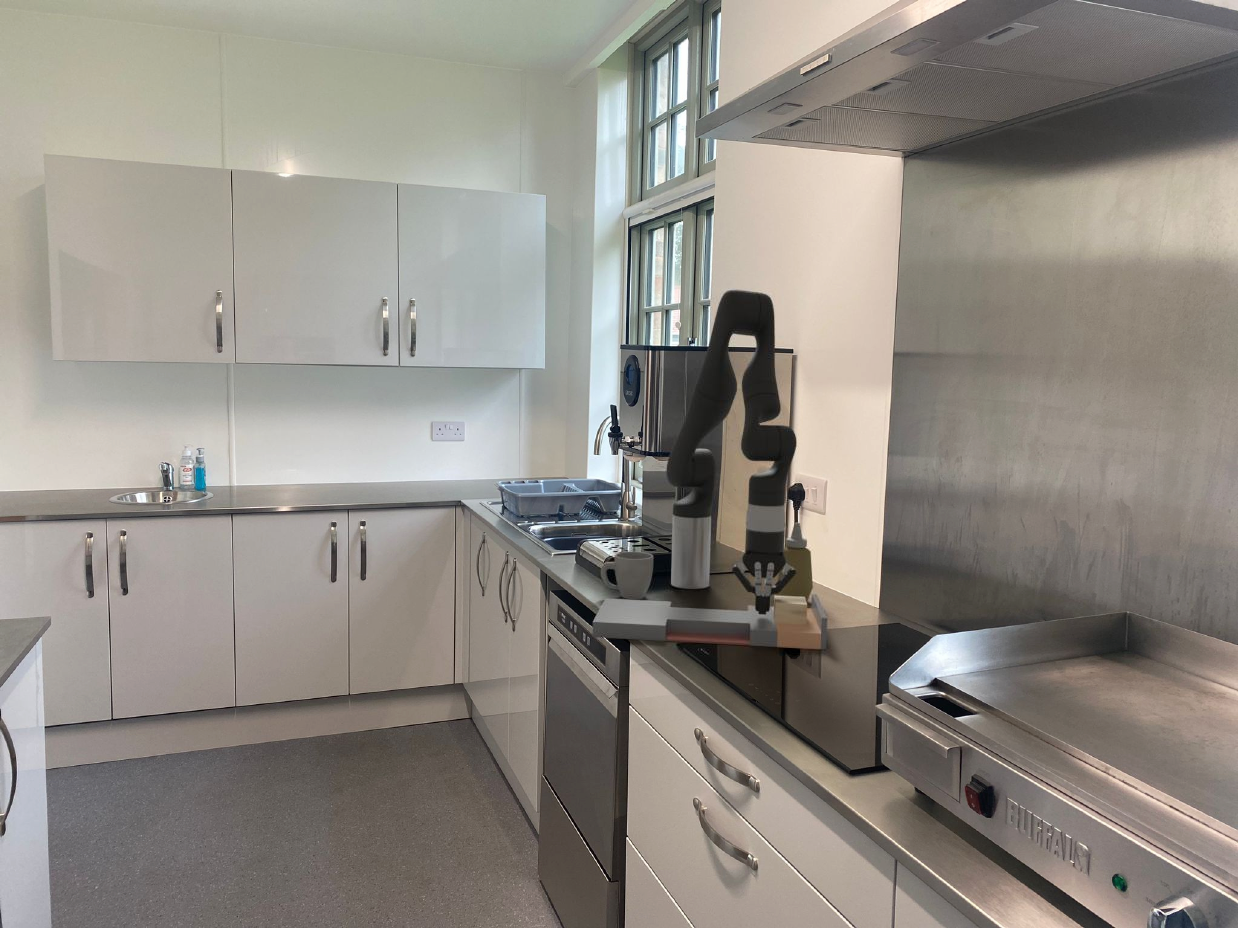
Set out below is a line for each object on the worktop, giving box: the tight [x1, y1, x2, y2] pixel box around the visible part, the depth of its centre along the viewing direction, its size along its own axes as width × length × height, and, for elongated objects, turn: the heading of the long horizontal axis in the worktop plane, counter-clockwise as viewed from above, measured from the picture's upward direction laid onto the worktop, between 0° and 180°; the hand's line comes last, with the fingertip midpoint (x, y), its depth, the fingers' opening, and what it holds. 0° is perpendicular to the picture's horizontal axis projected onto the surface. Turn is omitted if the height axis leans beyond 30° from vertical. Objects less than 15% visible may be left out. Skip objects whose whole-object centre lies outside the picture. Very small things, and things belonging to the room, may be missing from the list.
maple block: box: [773, 594, 808, 625], centre depth 168 cm, size 6×6×4 cm
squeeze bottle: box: [776, 522, 814, 602], centre depth 194 cm, size 8×8×18 cm
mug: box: [600, 551, 654, 600], centre depth 196 cm, size 12×9×10 cm
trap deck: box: [592, 593, 828, 650], centre depth 171 cm, size 18×44×6 cm, turn 83°
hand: (762, 613), depth 169 cm, fingers closed
